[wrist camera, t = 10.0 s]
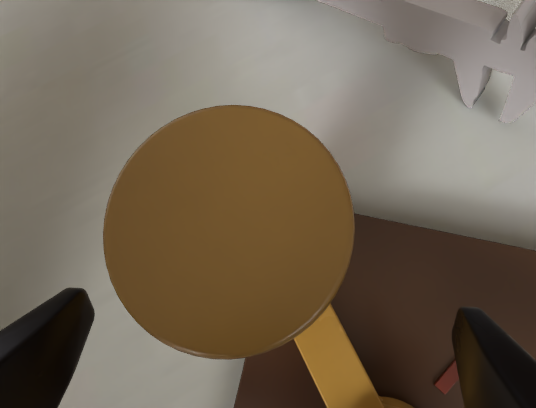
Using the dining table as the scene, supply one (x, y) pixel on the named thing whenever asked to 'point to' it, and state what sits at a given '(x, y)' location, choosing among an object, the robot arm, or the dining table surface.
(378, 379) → the plate
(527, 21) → the caliper
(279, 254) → the yellow crank handle
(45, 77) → the dining table surface
